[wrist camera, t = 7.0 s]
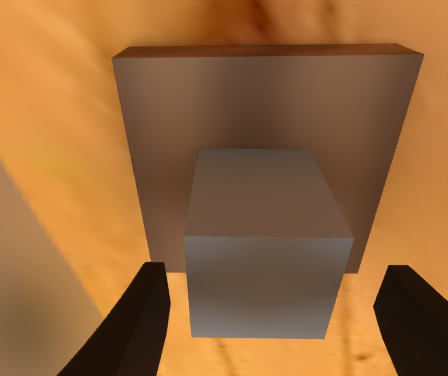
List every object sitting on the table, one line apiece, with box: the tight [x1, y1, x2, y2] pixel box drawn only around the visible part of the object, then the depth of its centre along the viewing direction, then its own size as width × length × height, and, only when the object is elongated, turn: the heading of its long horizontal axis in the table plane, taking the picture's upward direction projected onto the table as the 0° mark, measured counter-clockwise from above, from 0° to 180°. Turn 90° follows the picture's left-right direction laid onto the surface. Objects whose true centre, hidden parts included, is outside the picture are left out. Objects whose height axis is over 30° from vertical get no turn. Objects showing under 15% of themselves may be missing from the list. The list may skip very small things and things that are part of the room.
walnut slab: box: [112, 44, 424, 273], centre depth 17 cm, size 12×12×3 cm
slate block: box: [183, 148, 354, 339], centre depth 13 cm, size 5×5×6 cm
